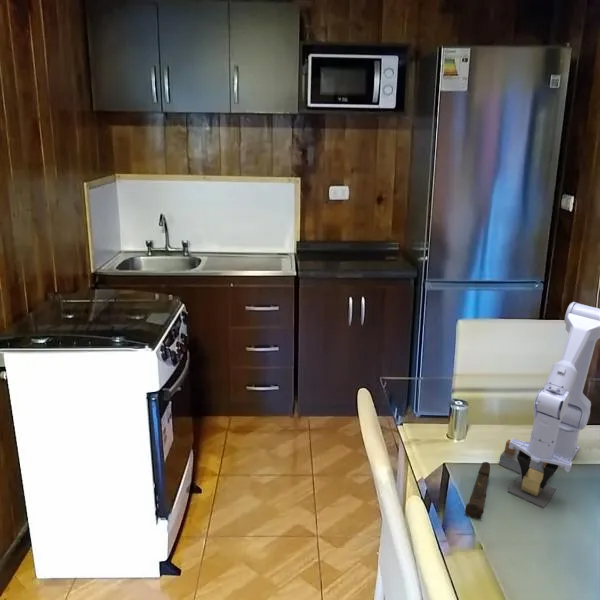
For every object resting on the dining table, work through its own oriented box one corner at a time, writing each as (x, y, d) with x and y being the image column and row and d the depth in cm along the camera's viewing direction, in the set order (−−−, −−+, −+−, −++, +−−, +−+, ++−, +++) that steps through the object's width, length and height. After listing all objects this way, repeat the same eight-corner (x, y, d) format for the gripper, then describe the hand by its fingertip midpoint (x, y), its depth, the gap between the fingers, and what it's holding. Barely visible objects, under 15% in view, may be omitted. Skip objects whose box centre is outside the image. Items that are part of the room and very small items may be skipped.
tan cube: (520, 489, 150) (523, 476, 148) (527, 480, 153) (529, 467, 151) (537, 496, 147) (540, 483, 146) (543, 487, 151) (545, 474, 149)
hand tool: (481, 521, 140) (484, 505, 138) (464, 515, 142) (466, 499, 140) (495, 476, 156) (498, 461, 154) (480, 471, 158) (483, 457, 156)
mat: (520, 474, 157) (520, 473, 156) (555, 489, 152) (556, 488, 151) (507, 491, 150) (507, 490, 150) (544, 508, 145) (544, 507, 145)
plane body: (507, 454, 165) (510, 435, 163) (551, 472, 158) (556, 453, 156) (498, 464, 160) (502, 445, 158) (544, 483, 154) (548, 464, 151)
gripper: (508, 431, 146) (499, 477, 151) (570, 455, 138) (558, 503, 143) (518, 419, 151) (509, 464, 156) (578, 442, 143) (567, 489, 148)
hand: (533, 482), depth 150 cm, fingers closed on tan cube, 4 cm apart
